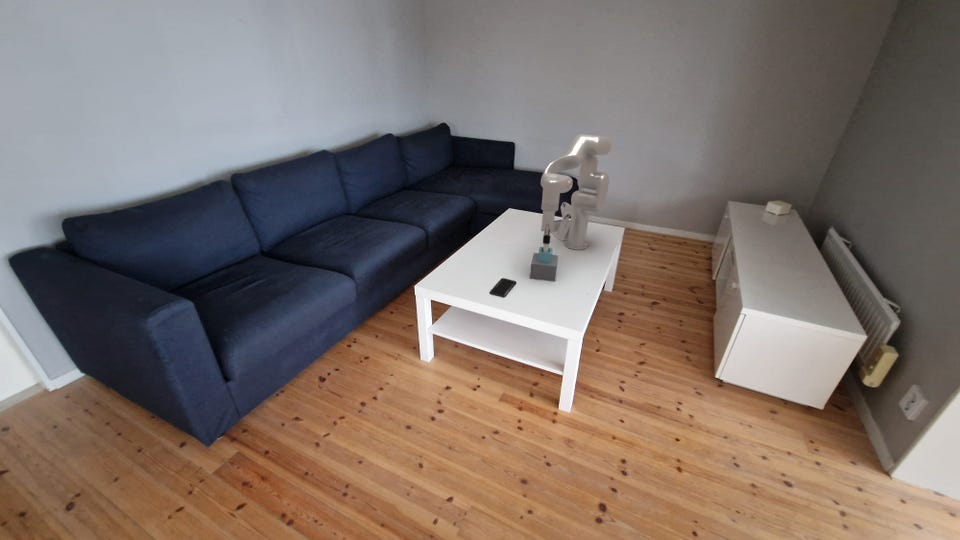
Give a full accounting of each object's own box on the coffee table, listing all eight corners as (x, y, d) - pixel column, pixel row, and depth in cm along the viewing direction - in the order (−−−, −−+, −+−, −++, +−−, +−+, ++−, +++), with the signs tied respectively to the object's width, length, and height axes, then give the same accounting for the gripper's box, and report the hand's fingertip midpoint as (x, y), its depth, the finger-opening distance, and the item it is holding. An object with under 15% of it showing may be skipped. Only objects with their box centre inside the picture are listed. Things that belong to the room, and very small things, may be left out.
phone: (517, 281, 185) (504, 296, 173) (516, 283, 186) (504, 298, 174) (501, 277, 188) (488, 292, 176) (501, 279, 189) (488, 294, 177)
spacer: (538, 255, 193) (539, 246, 190) (552, 257, 192) (552, 247, 189) (537, 261, 187) (538, 252, 185) (551, 263, 186) (552, 253, 184)
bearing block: (532, 266, 200) (533, 252, 196) (556, 269, 197) (558, 255, 193) (529, 278, 189) (531, 263, 186) (555, 281, 187) (556, 266, 183)
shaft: (541, 267, 193) (544, 241, 187) (546, 268, 193) (549, 242, 186) (541, 269, 191) (543, 243, 184) (546, 270, 191) (548, 244, 184)
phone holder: (547, 230, 242) (550, 202, 234) (562, 228, 245) (565, 200, 236) (560, 241, 228) (564, 212, 219) (576, 239, 230) (580, 210, 222)
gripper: (543, 200, 184) (539, 236, 192) (540, 210, 171) (536, 248, 179) (559, 201, 182) (555, 237, 191) (557, 212, 169) (553, 250, 178)
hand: (546, 243), depth 185 cm, fingers closed
